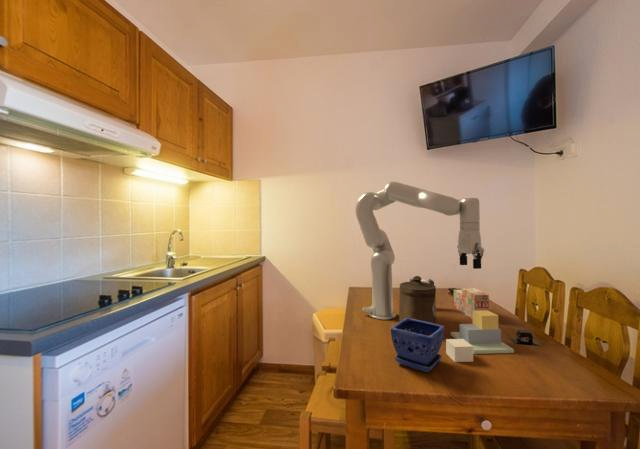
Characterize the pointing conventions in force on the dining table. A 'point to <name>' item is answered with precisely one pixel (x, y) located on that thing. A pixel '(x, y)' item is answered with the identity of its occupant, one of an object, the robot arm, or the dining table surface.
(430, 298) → the wooden container
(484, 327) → the mustard brick
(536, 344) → the black piece
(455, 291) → the stack of blocks
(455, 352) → the cream brick
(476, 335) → the slate-blue long brick
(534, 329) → the dining table surface
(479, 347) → the green plate
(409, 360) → the flower pot
